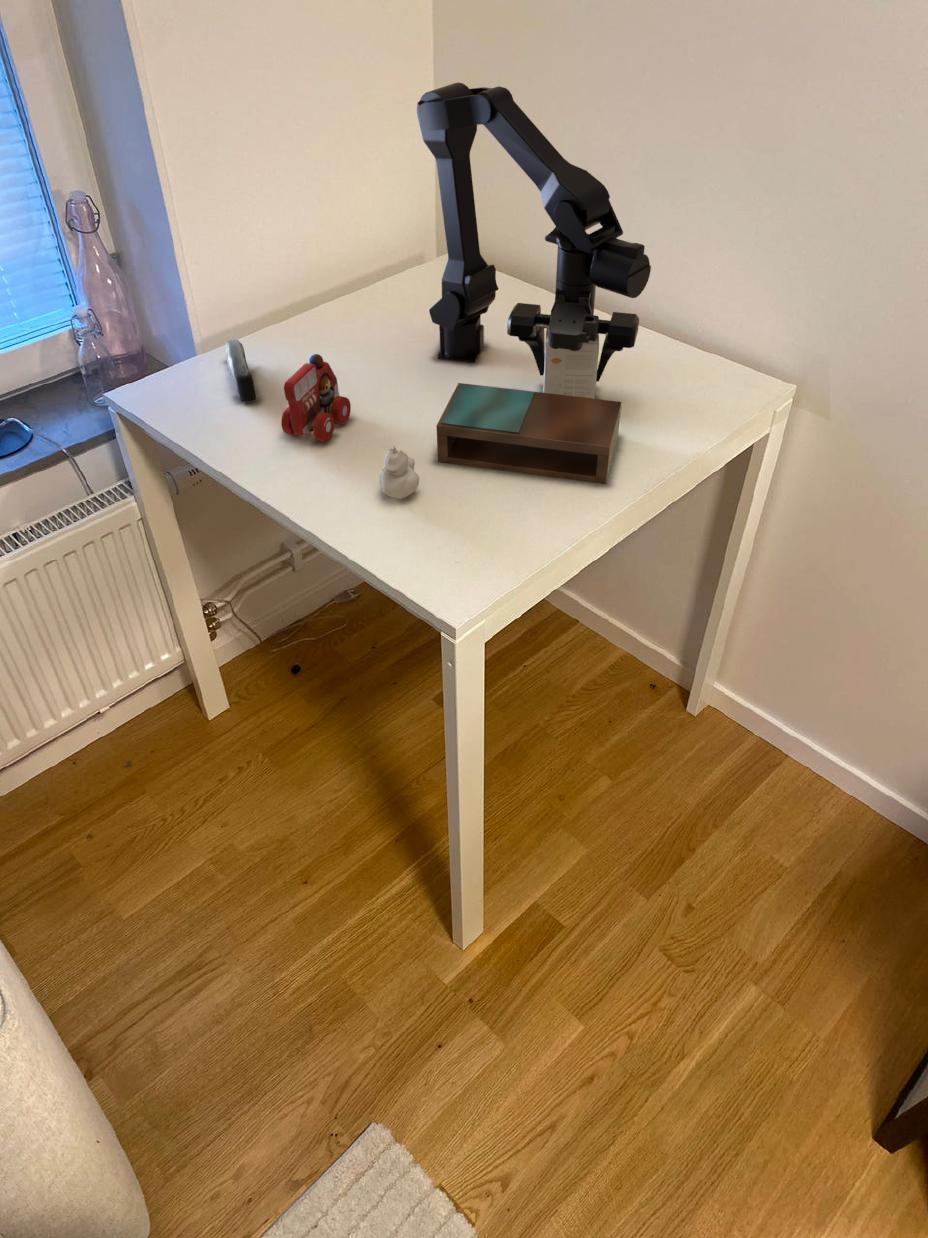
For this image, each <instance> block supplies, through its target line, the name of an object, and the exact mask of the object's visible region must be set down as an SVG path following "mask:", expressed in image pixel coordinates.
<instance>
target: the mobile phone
mask: <svg viewBox="0 0 928 1238" xmlns="http://www.w3.org/2000/svg"><path fill="white" fill-rule="evenodd" d="M225 350H226V353H225V357H226V363H227V367H228V370H229V375H230V377H231V379H232V383H233V386H234V388H235V391H236V393H237V397H238V399H239V400H240V401H241V402H244V403H250V402H255V401H256V400H257V394H256V388H255V383H254V377H253V375H252V373H251V371H250V368H249V365H248V363H247V357H246V352H245V348H244V345H243V344H242V342H241V341H240V340H239V339H230V340H228V341H227V342H226V344H225Z"/></svg>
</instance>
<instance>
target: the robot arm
mask: <svg viewBox="0 0 928 1238" xmlns="http://www.w3.org/2000/svg"><path fill="white" fill-rule="evenodd" d="M416 115H417V121H418V125H419V129H420V133H421V137H422V140H423V143H424V144H425V146H426V147H427V149H428V150H429V151H430V153H431V154H432V156H433V157H434V158H435V163H436V164H435V165H436V171H437V178H438V180H437V181H438V187H439V194H440V202H441V209H442V216H443V226H444V235H445V242H446V243H445V244H446V250H447V261H446V265H445V268H444V270H443V273H442V277H441V298H439V300H437V302H436V303H435V304H433V305H432V306H431V307H430V308H429V310H428V312H429V316H430V319H431V322H432V323H433V324H434V325H438V327H439V351H438V353H437V355H436V358H437V359H438V360H443V361H453V362H460V363H461V362H463V363H470V364H471V363H472V364H473V363H476V361H477V359H478V358H479V356H480V355H481V354H482V352H483V350H484V348H485V326H484V324H482V323H481V321H482V320H481V316H482V315H483V314H486V313H488V310H489V308H490V306H491V305H492V304H493V302H494V301H495V300H496V295H497V293H496V292H497V291H499V286H498V283H497V279H496V277H497V276H496V274H497V269H496V266H495V264H488V262H487V261H486V260H485V259H484V257H483V255H482V254H481V251H480V241H479V232H478V231H479V230H478V221H477V212H476V203H475V194H474V183H473V174H472V165H471V151H472V147H473V144H474V141H475V138H476V135H477V131H478V126H479V125H483V126H484V127H485V128H486V130H487V131H488V132H489V133H490V134H491V135H492V137H494V139H495V140H496V141H497V142H498V143H499V144H500V146H501V147H502V148H503V149H504V151H505V152H506V153H507V154H508V155H509V156H510V157H511V158H512V159H513V160H514V162H515V163H516V164H517V165H518V167H520V169H521V170H522V171H523V172H524V174H526V175H527V177H528V178H529V179H530V180H531V181H532V182H533V184H534V185H535V186H536V188H537V190H538V191H539V193H540V195H541V200H542V206H543V208H544V211H545V212H546V214H547V216H548V217H549V218H550V220H551V221H552V223H553V224H554V226H555V227H554V228H553V230H552V231H550V232H549V233H548V234H546V235H545V236H544V240H545V242H548V243H551V244H554V245H557V254H556V257H557V258H556V272H555V273H556V274H555V293H554V302H553V305H552V307H551V309H550V314H545V313H542V307H541V304H535V303H534V304H533V303H525V302H517V303H516V304H515V305H514V306H513V308H512V310H511V312H510V314H509V316H508V319H507V328H506V329H507V335H508V336H510V337H517V339H518V341H519V342H524V343H525V344H526V345H527V346H529V348H530V351H531V353H532V355H533V358H534V362H535V364H536V367H537V370H538V372H539V375H540V376H542V377H544V366H545V341H546V333H545V329H547V328H548V334H549V346H550V347H551V348H553V349H559V348H560V349H569V350H571V351H578V350H580V349H581V348H582V346H583V343H589V341H596V338H597V334H599V335H605V337H604V341H603V344H602V347H601V353H600V357H599V360H598V367H597V379H596V383H597V382H600V380H601V377H602V376H603V373H604V371H605V368H606V366H607V364H608V363H609V360H611V357H612V356H613V355H614V353H615V352H623V350H624V349H631V348H635V344H636V340H637V337H638V333H639V326H640V318H639V316H638V315H637V313H627V312H618V311H616V312H615V311H612V315H611V318H610V320H609V319H608V320H607V319H600V317H599V315H594V314H595V302H596V291H597V290H596V289H597V288H599V289H602V290H605V291H609V292H612V293H615V294H618V295H621V296H624V297H627V298H631V299H636V298H638V297H639V296H640V295H641V294H643V293H642V292H643V291H644V290H645V288H646V287H647V285H648V282H649V279H650V275H651V270H652V265H651V264H650V258H649V257H648V255H647V254H646V253H645V245H644V244H642V243H639V242H631V241H627V240H623V239H619V237H621V236H623V235H624V231H623V228H622V225H621V224H620V221H619V219H618V217H617V215H616V213H615V210H614V208H613V206H612V204H611V203H612V202H611V201H610V198H611V195H610V193H609V190H608V189H607V188H606V186H605V184H603V183H602V182H601V181H600V180H599V179H598V178H596V177H595V176H594V175H592V173H590V172H589V171H588V170H586V169H584V168H581V167H579V166H577V165H574V164H572V163H571V162H569V161H568V160H567V159H565V158H564V157H563V156H562V154H561V153H560V152H559V150H557V149H556V148H555V146H554V145H553V144H552V143H551V141H549V139H548V138H547V137H546V136H545V135H544V133H542V132H541V131H540V129H539V128H538V127H537V126H536V124H535V123H534V122H533V121H532V120H531V119H530V117H529V116H528V115H527V114H526V113H525V112H524V111H523V110H522V109H521V107H520V106H519V105H518V103H516V101H514V97H513V94H512V93H511V90H509V89H508V88H507V87H503V86H499V85H498V86H495V87H485V86H483V87H473V88H472V87H471V88H470V87H469V86H467V85H466V84H465V83H463V82H454V83H451V84H448V85H445V86H441V87H439V88H435V89H433V90H429V91H427V92H425V93H423V94H422V95H421V97H420V99H419V101H418V102H417V105H416ZM599 224H600V226H601V227H600V228H598V229H596V230H595V231H594V230H593V232H590V233H587V230H589V229H591V228H592V227H595V226H596V225H599Z"/></svg>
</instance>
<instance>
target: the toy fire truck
mask: <svg viewBox="0 0 928 1238" xmlns="http://www.w3.org/2000/svg"><path fill="white" fill-rule="evenodd" d="M283 392H284V398H285V400H286V401H287V403H288V406H287V407H286V408H285V409H284V410H283V412H282V415H281V421H280V426H281V430H282V431H283V432H284V434H288V435H291V436H292V435H293V436H302V437H303V436H304V437H305V436H306V435H307V434H308V433H312V434H313V437H314V438H315V440H316V441H319V442H328V441H329V440H330V439H331V438H332V437H333V433H334V430H335V424H338V425H344V424H346V423H347V422H348V420H349V418H350V416H351V409H352V407H351V405H352V404H351V401H350V399H349V398H348V397H346V396H342V395H340V392H339V383H338V378H337V377H336V374H335V372H334V371H333V369H332V367H331V365H330V363H329V362H328V361H324V358H323V356H322V355H321V354H318V353H314V354H312V355H311V356H310V357H309V360H308V362H305V363H304V364H302V366H301V367H300V368H298V369H297V370H296V372H294V373H293V374H292V375H291V376H290V377H288V379H286V381H285V382H284V384H283Z"/></svg>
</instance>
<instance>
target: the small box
mask: <svg viewBox="0 0 928 1238" xmlns="http://www.w3.org/2000/svg"><path fill="white" fill-rule="evenodd" d="M599 353H600V334H597V338H596V341H589V343H583V346H582V348H581V349H580V350H578V351H571V350H569V349H560V348H559V349H553V348H551V347H550V346H549V334H548V328H545V366H544V374H543V393H550V394H559V395H568V396H576V397H585V398H594V399H596V389H597V382H596V379H597V370H598V365H599Z"/></svg>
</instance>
